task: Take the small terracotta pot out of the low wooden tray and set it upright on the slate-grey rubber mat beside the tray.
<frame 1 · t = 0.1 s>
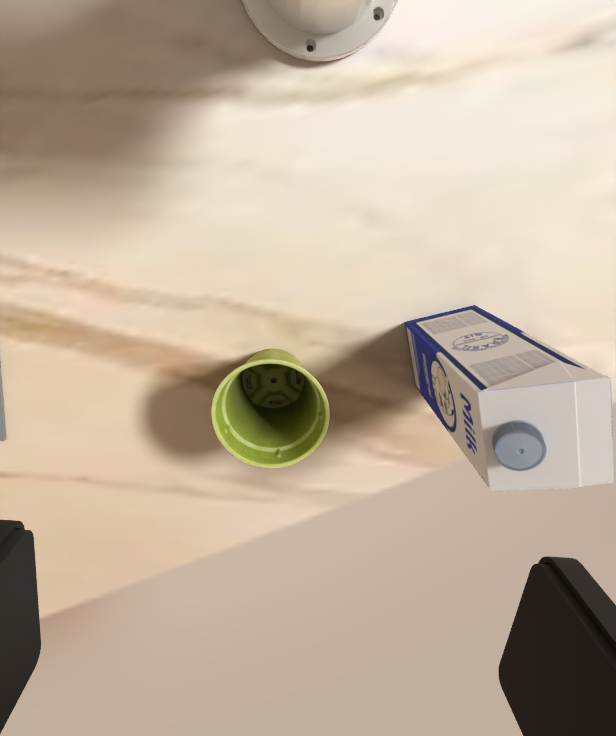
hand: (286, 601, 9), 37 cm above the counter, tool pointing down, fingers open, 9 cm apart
milk carton: (444, 346, 47), on the counter
plant pot: (272, 377, 47), on the counter
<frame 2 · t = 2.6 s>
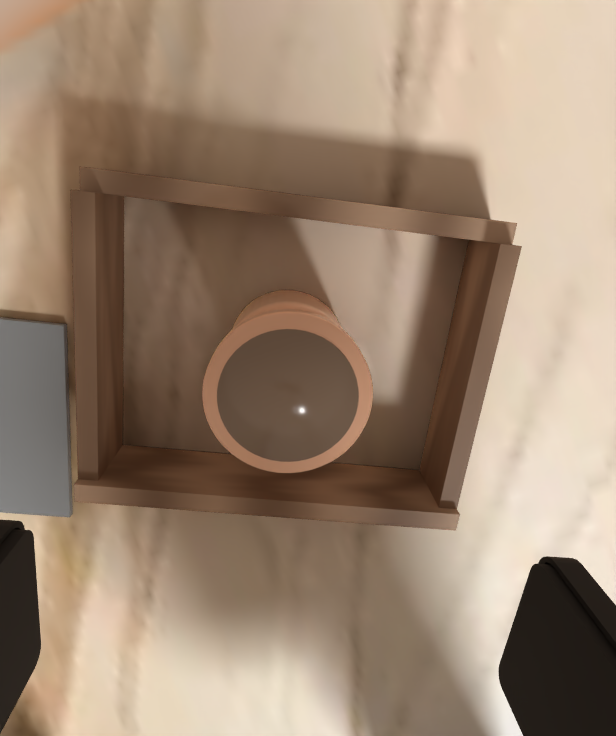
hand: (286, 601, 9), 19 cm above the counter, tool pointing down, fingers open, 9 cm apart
wooden tray: (287, 347, 27), on the counter
terracotta pot: (287, 368, 24), in the wooden tray
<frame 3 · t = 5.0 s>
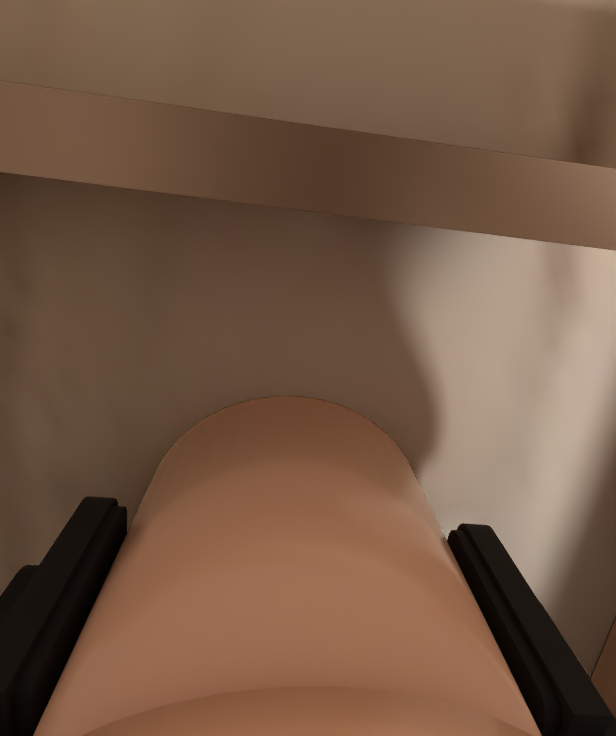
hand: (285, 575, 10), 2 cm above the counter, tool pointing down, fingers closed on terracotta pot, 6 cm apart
wooden tray: (285, 523, 11), on the counter
terracotta pot: (287, 679, 8), in the wooden tray, touching gripper
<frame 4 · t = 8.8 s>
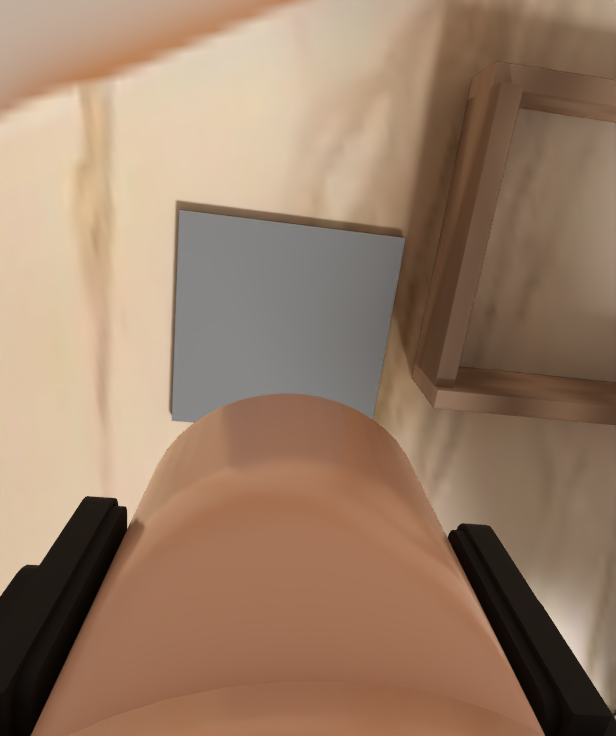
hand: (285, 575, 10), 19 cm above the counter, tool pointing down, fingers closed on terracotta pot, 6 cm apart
wooden tray: (609, 263, 28), on the counter
terracotta pot: (287, 676, 8), point 22 cm above the counter, touching gripper
mat: (282, 332, 28), on the counter
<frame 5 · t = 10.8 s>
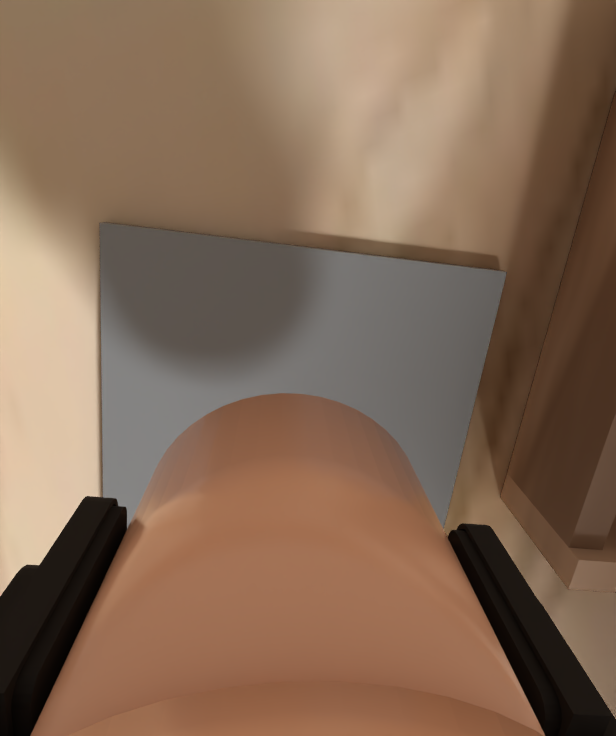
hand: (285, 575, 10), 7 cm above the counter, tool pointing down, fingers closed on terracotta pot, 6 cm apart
terracotta pot: (287, 676, 8), point 9 cm above the counter, touching gripper
mat: (288, 427, 16), on the counter
when the fingers open (4 cm above the counter, at t = 12.6 s): terracotta pot stays where it is, resting on mat.
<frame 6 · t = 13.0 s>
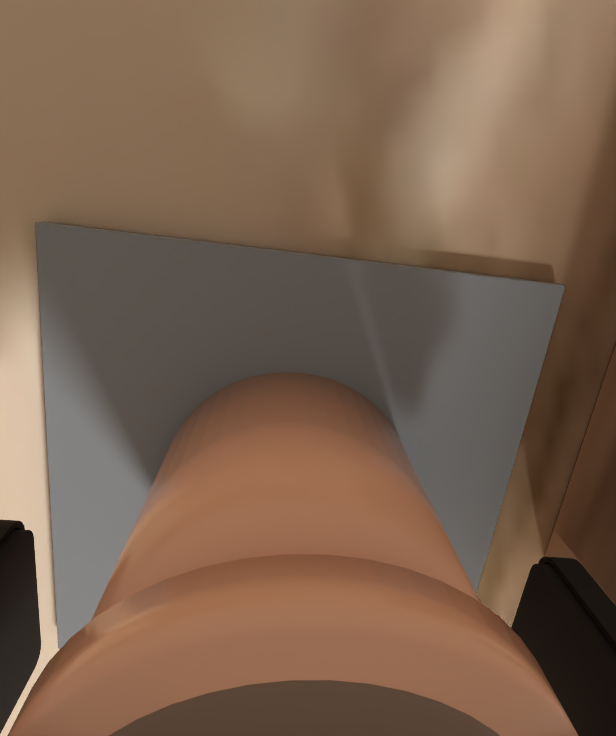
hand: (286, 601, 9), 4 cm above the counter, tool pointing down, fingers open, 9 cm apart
terracotta pot: (289, 603, 9), on the mat
mat: (284, 478, 13), on the counter
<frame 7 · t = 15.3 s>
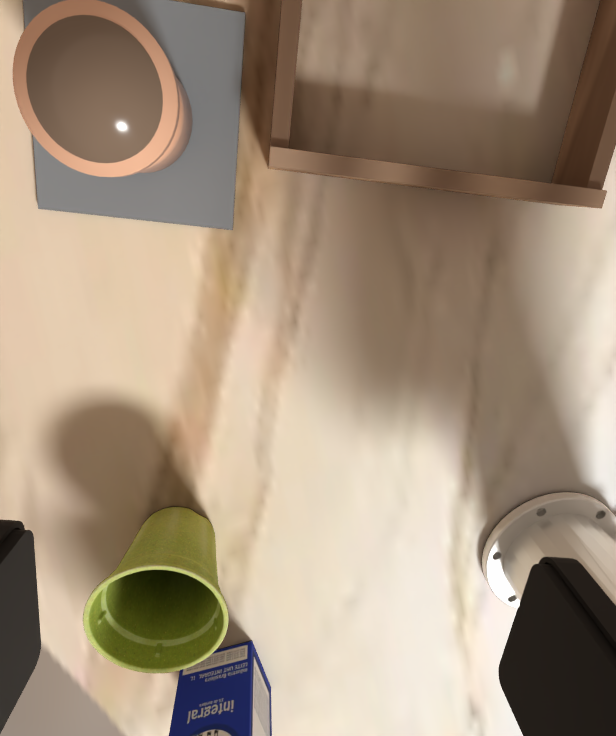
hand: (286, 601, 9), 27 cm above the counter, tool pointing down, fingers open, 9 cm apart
milk carton: (227, 671, 47), on the counter
wooden tray: (444, 47, 30), on the counter
plant pot: (178, 533, 41), on the counter
terracotta pot: (119, 105, 25), on the mat
mat: (138, 116, 29), on the counter
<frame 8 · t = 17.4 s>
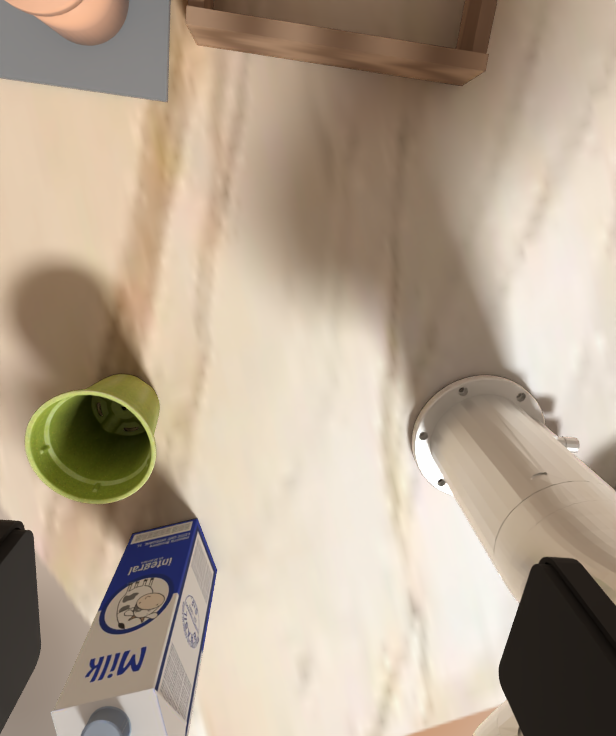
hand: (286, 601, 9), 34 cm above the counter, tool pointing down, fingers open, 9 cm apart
milk carton: (176, 551, 50), on the counter
plant pot: (126, 403, 44), on the counter
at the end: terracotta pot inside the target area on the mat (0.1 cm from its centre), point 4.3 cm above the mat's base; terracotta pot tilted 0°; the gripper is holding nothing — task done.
